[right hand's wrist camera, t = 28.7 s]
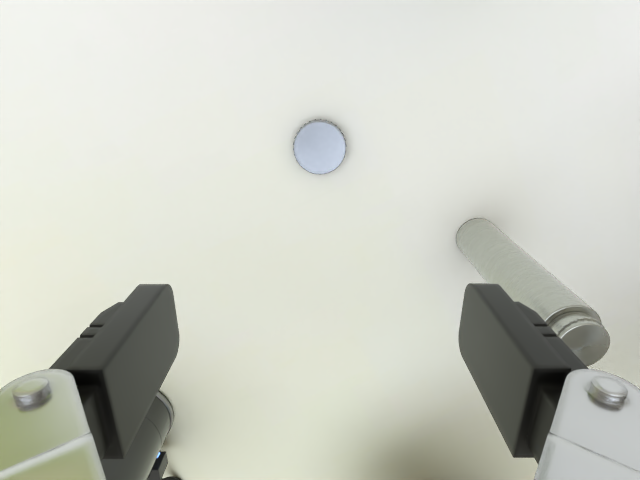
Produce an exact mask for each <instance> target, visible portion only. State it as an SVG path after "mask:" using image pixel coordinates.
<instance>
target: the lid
mask: <svg viewBox="0 0 640 480" xmlns="http://www.w3.org/2000/svg"><path fill="white" fill-rule="evenodd" d="M343 136H344V135H343V133H341V130H340V128H339V129H338V128H337V126H336V125H334V124H332V122H328V121H327V120H325V121H324V120H321V119H320V120H316V119H315V121H309V123H307V124H306V123H305V124H304V126H303V127H301V128H300V131H299V132H297V136H295V142H294V143H293V145H294V148H293V150H294V156H295V157H296V160H297V161H298V163H299V165H301V167H303V168H304V169H305V170H307V171H308V172H311V173H314V174H326V173H329V172H331V171H333V170H335V169H336V168H337V167H338V166H339V165H340V164H341V162H342V161H343V159H344V157H345V152H346V144H345V141H346V140H345V138H344V137H343Z"/></svg>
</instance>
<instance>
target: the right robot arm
mask: <svg viewBox="0 0 640 480" xmlns="http://www.w3.org/2000/svg"><path fill="white" fill-rule="evenodd" d="M178 347H179V330H178V323H177V316H176V310H175V303H174V296H173V291H172V288H171V286H170V285H169V284H140V285H138V286H137V287H136V289H135V290H134V291H133V292H132V293H131V294H130V295H129V297H128V298H127V299H126V300H125V301H124V302H118V303H117V304H115V305H113V306H112V307H110V308H108V309H106V310H105V311H103V312H101V313H100V314H99V315H98V317H97V318H96V319H95V320H94V321H93V322H92V323H91V324H90V327H87V328H86V329H85V331H84V332H83V333H82V334H81V335H80V338H77V339H76V340H75V341H74V342H73V343H72V345H71V346H70V347H69V348H68V349H67V350H66V351H65V352H64V353H63V354H62V355H61V356H60V357H59V359H58V360H57V361H56V362H55V363H54V364H53V365H52V366H51V367H50V368H49V369H47V370H41V371H36V372H33V373H30V374H27V375H25V376H22V377H20V378H18V379H16V380H14V381H12V382H10V383H9V384H7V385H6V386H4V387H3V388H1V389H0V480H180V479H178V478H176V477H166V478H162V476H163V474H164V471H165V469H166V466H167V464H168V460H167V455H166V452H160V451H161V448H162V446H163V444H164V441H165V438H166V435H167V434H168V432H169V431H170V428H171V426H172V423H173V419H174V415H173V410H172V407H171V405H170V403H169V401H168V400H167V399H166V398H165V396H164V395H162V394H161V393H160V392H159V389H160V387H161V385H162V383H163V381H164V379H165V377H166V375H167V373H168V371H169V369H170V367H171V366H172V364H173V362H174V360H175V358H176V355H177V352H178ZM459 347H460V352H461V355H462V357H463V359H464V361H465V363H466V365H467V367H468V369H469V371H470V373H471V375H472V377H473V379H474V381H475V383H476V385H477V387H478V389H479V391H480V393H481V395H482V397H483V399H484V401H485V403H486V405H487V406H488V408H489V410H490V412H491V414H492V416H493V418H494V420H495V422H496V424H497V426H498V428H499V430H500V432H501V434H502V436H503V438H504V440H505V442H506V444H507V446H508V448H509V450H510V452H511V454H512V456H513V458H535V460H536V461H537V463H538V468H537V471H536V474H535V478H534V480H640V389H639V388H637V387H636V386H634V385H633V384H631V383H630V382H628V381H626V380H624V379H622V378H620V377H618V376H615V375H613V374H610V373H607V372H604V371H599V370H593V369H588V368H587V367H586V365H585V364H584V363H583V362H582V361H581V360H580V359H579V358H578V357H577V356H576V355H575V354H574V352H573V351H572V350H571V349H570V348H569V347H568V346H567V345H566V344H565V343H564V342H563V340H562V339H561V338H560V337H557V334H556V333H555V332H554V331H553V330H552V329H551V327H548V326H547V323H546V322H545V321H544V320H543V319H542V318H541V317H540V315H539V314H538V313H537V312H536V311H534V310H532V309H530V308H529V307H527V306H525V305H524V304H522V303H520V302H514V301H513V300H512V299H511V298H510V297H509V295H508V294H507V293H506V292H505V291H504V290H503V288H502V287H501V286H500V285H499V284H468V285H467V287H466V289H465V294H464V301H463V308H462V315H461V321H460V328H459Z"/></svg>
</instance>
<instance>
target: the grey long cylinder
mask: <svg viewBox="0 0 640 480" xmlns="http://www.w3.org/2000/svg"><path fill="white" fill-rule="evenodd" d="M456 242H457V245H458V247H459V249H460V250H461V251H462V253H463V254H464V255H465V256H466V258H467V259H468V260H469V261H470V262H471V264H472V265H473V266H474V267H475V269H476V270H477V271H478V272H479V274H480V275H481V276H482V277H483V278H484V280H485V281H486V282H487V283H488V284H499V285H500V286H501V287H502V288H503V290H504V291H505V292H506V293H507V294H508V295H509V297H510V298H511V299H512V300H513V301H514V302H520V303H522V304H524V305H525V306H527V307H529V308H530V309H532V310H534V311H536V312H537V313H538V314H539V315H540V317H541V318H542V319H543V320H544V321H545V322H546V323H547V326H548V327H551V329H552V330H553V331H554V332H555V333H556V334H557V337H560V338H561V339H562V340H563V342H564V343H565V344H566V345H567V346H568V347H569V348H570V349H571V350H572V351H573V352H574V354H575V355H576V356H577V357H578V358H579V359H580V360H581V361H582V362H583V363H584V364H585V365H586V366H589V365H592V364H594V363H595V362H597V361H598V360H600V359H601V358H602V357H603V356H604V355H605V353H606V352H607V350H608V348H609V344H610V337H609V334H608V332H607V331H606V330H605V329H604V326H603V325H602V323H601V320H600V317H599V315H598V314H597V313H596V312H595V311H594V310H593V309H592V308H591V307H589V306H588V305H587V304H586V303H585V302H584V301H582V300H581V299H580V298H579V297H578V296H577V295H575V294H574V293H573V292H572V291H571V290H569V289H568V288H567V287H566V286H565V285H564V284H562V283H561V282H560V281H559V280H558V279H557V278H555V277H554V276H553V275H552V274H551V273H550V272H548V271H547V270H546V269H545V268H544V267H542V266H541V265H540V264H539V263H538V262H537V261H535V260H534V259H533V258H532V257H531V256H530V255H528V254H527V253H526V252H525V251H524V250H523V249H521V248H520V247H519V246H518V245H517V244H516V243H514V242H513V241H512V240H511V239H510V238H508V237H507V236H506V235H505V234H504V233H503V232H501V231H500V230H499V229H498V228H497V227H496V226H494V225H493V224H492V223H491V222H490V221H488V220H486V219H482V218H476V219H472V220H469V221H467V222H466V223H464V224H463V225H462V226H461V227H460V229H459V231H458V233H457V237H456Z"/></svg>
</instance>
